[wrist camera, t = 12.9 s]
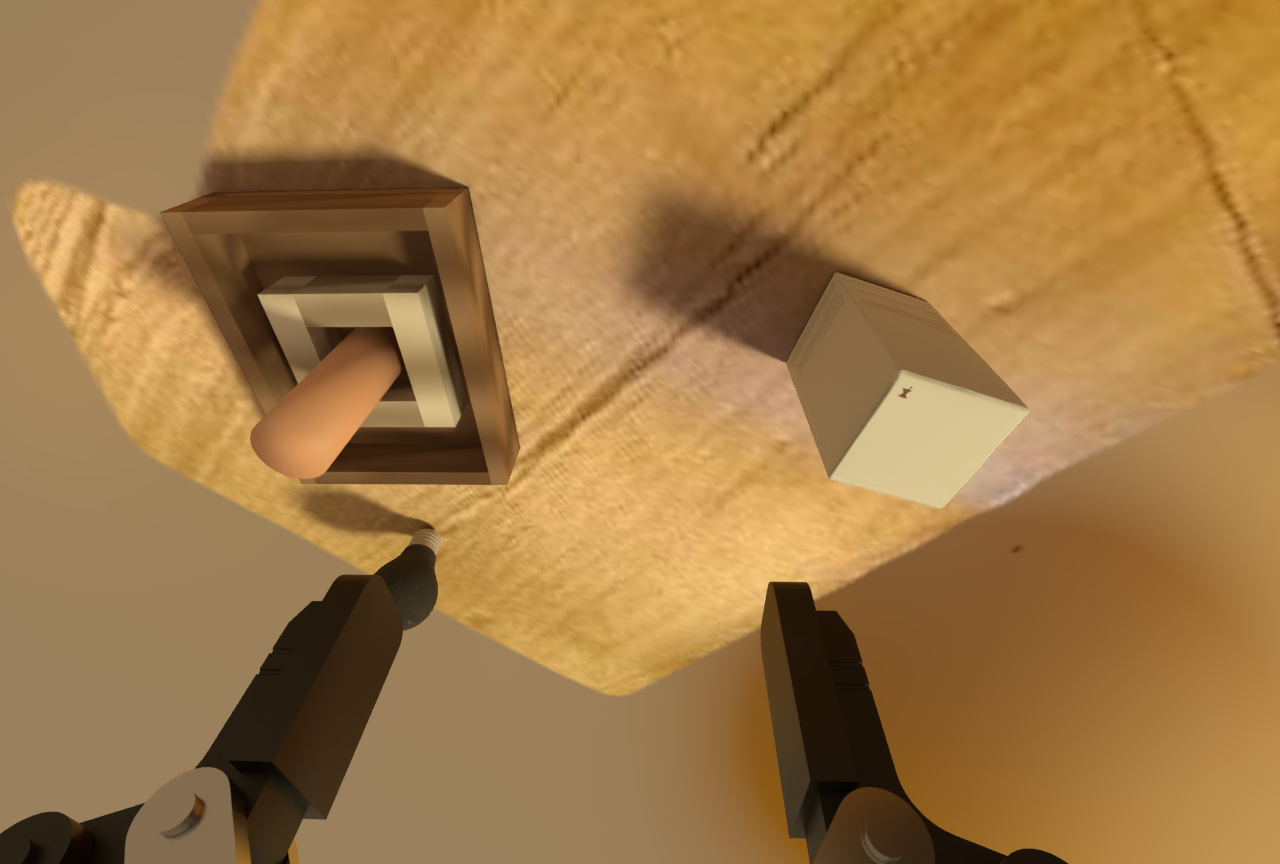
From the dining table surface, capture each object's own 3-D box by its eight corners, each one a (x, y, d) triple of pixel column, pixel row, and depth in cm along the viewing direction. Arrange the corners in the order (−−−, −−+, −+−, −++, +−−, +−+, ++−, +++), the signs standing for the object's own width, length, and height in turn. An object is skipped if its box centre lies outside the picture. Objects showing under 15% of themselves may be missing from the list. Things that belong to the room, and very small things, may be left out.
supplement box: (782, 363, 40) (822, 480, 30) (834, 267, 36) (902, 366, 25) (873, 392, 41) (941, 514, 31) (934, 302, 37) (1037, 410, 27)
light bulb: (455, 511, 50) (415, 605, 42) (465, 553, 53) (430, 647, 45) (393, 508, 50) (342, 601, 42) (407, 550, 53) (362, 644, 45)
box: (213, 192, 34) (159, 212, 31) (468, 187, 33) (444, 207, 30) (329, 447, 46) (301, 483, 42) (520, 447, 45) (507, 484, 42)
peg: (345, 318, 38) (236, 419, 28) (403, 317, 38) (312, 419, 28) (364, 369, 40) (270, 478, 31) (418, 369, 40) (340, 479, 30)
